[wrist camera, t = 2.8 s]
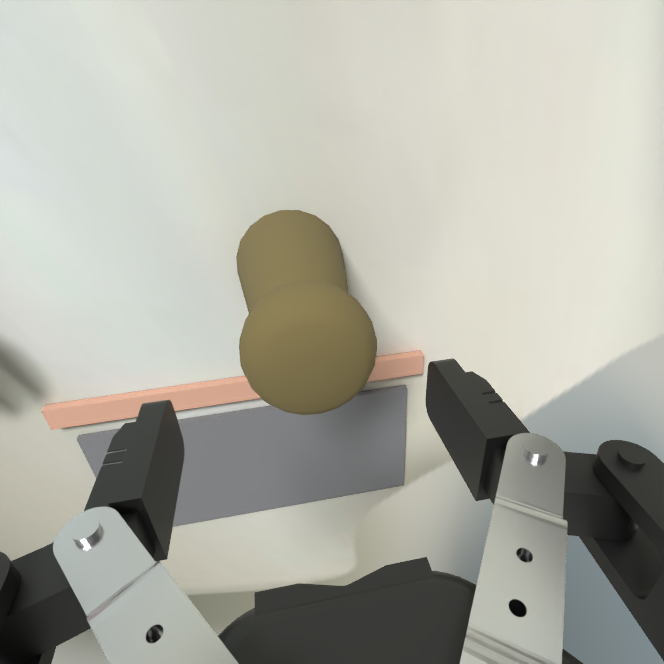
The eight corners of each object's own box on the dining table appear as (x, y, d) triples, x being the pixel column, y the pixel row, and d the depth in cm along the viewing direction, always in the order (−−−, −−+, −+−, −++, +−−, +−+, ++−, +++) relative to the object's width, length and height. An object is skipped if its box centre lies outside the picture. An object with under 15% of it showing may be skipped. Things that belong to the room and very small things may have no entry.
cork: (312, 324, 26) (345, 456, 17) (219, 286, 24) (197, 413, 15) (361, 239, 24) (431, 336, 15) (264, 189, 22) (271, 265, 12)
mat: (405, 385, 30) (407, 388, 30) (402, 481, 35) (403, 485, 35) (78, 435, 28) (76, 439, 27) (126, 530, 33) (125, 535, 32)
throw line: (420, 350, 29) (423, 355, 28) (419, 368, 29) (422, 373, 29) (45, 404, 26) (41, 411, 26) (55, 423, 27) (51, 429, 26)
